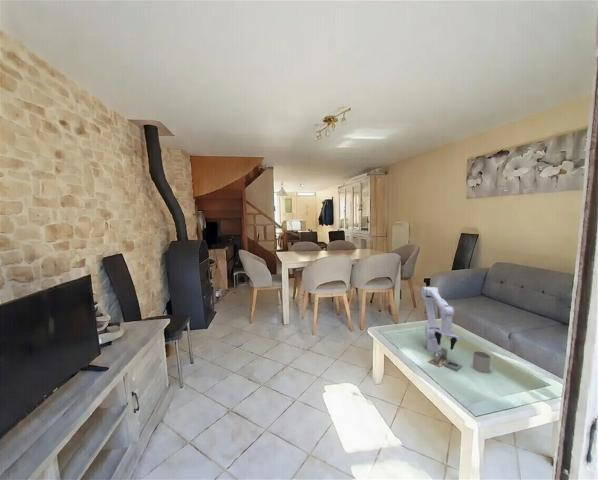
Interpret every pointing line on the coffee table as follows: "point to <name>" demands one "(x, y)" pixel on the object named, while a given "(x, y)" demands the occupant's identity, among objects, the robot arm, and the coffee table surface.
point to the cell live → (436, 358)
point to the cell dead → (444, 353)
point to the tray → (437, 364)
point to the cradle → (452, 366)
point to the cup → (481, 362)
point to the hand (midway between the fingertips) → (445, 346)
